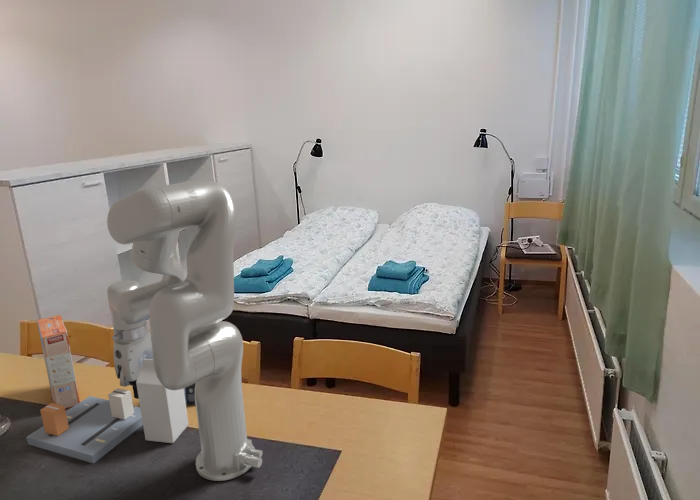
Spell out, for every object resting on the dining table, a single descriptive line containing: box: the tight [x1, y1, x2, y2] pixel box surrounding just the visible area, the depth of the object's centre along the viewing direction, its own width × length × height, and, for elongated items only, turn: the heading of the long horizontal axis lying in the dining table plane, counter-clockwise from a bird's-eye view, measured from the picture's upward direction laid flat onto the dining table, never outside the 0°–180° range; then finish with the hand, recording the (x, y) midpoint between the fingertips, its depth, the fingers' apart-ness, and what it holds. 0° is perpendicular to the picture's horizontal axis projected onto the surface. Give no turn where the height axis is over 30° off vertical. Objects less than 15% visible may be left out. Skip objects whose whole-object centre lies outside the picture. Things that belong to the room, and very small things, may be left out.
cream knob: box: [107, 387, 134, 420], centre depth 124 cm, size 4×3×6 cm
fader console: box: [25, 395, 143, 464], centre depth 123 cm, size 20×18×2 cm
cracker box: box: [36, 314, 81, 410], centre depth 135 cm, size 14×6×21 cm, turn 34°
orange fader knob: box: [39, 402, 69, 436], centre depth 119 cm, size 4×3×6 cm
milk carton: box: [136, 359, 189, 444], centre depth 119 cm, size 7×7×19 cm
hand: (141, 397), depth 131 cm, fingers closed
